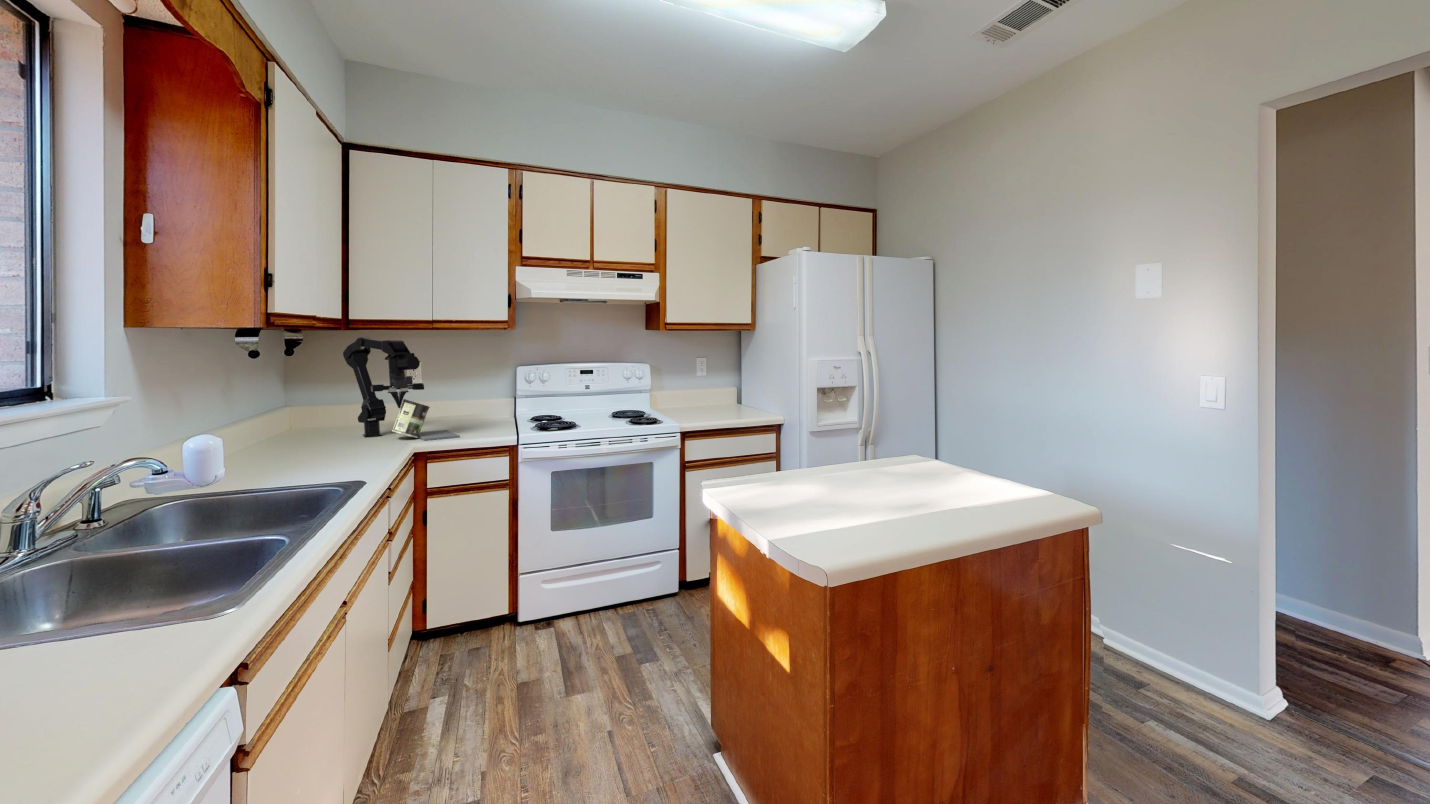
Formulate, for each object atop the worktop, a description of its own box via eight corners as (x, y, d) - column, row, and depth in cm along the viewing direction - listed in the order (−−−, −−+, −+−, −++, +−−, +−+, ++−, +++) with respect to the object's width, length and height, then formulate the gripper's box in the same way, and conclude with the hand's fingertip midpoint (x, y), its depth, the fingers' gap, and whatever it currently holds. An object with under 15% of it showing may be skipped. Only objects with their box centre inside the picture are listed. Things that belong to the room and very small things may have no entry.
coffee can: (418, 437, 242) (430, 406, 244) (416, 438, 232) (429, 406, 234) (392, 430, 238) (405, 399, 240) (389, 431, 228) (402, 398, 231)
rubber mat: (412, 434, 246) (412, 432, 246) (447, 431, 255) (447, 429, 255) (423, 440, 231) (423, 438, 231) (459, 437, 240) (459, 435, 240)
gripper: (373, 370, 220) (376, 410, 220) (425, 369, 231) (428, 407, 232) (369, 371, 228) (372, 409, 229) (420, 370, 240) (422, 406, 241)
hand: (399, 408), depth 233 cm, fingers closed
